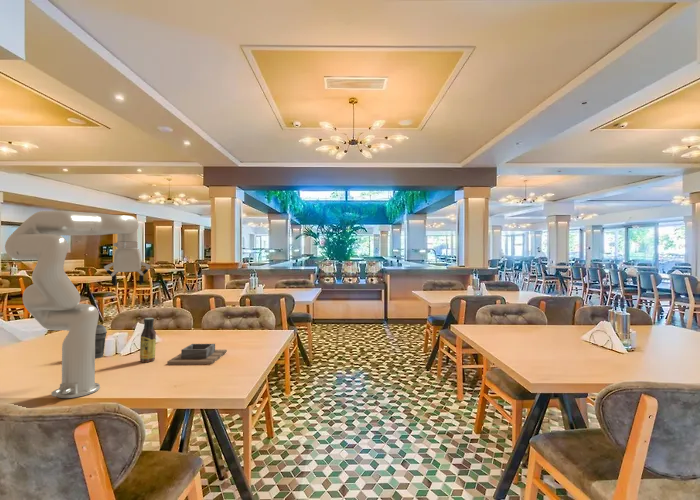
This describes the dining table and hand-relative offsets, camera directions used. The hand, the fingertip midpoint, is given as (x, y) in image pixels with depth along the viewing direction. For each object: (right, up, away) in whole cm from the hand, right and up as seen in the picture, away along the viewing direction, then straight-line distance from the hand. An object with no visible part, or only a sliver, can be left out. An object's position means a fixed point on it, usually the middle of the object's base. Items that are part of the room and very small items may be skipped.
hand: (128, 284), depth 157 cm
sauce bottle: (+3, -37, +10) cm, 38 cm away
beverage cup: (-25, -37, +17) cm, 47 cm away
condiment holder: (+25, -37, +14) cm, 47 cm away
